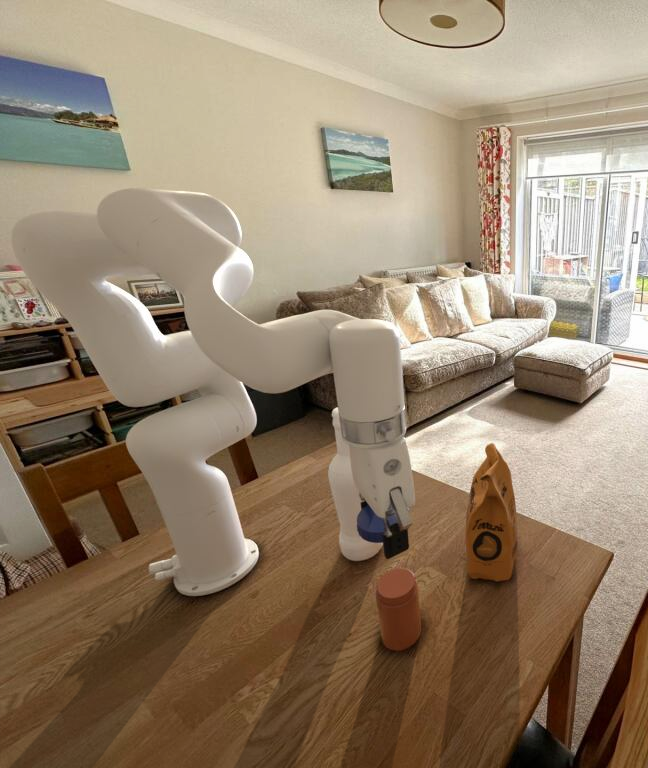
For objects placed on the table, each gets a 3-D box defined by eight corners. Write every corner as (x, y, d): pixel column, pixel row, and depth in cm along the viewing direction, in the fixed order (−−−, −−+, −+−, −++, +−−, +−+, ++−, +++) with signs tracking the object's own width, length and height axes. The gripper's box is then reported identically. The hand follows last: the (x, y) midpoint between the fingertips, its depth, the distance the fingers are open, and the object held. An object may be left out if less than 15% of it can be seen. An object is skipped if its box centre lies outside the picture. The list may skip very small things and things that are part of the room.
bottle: (371, 566, 74) (350, 422, 63) (332, 559, 76) (305, 416, 65) (392, 536, 82) (376, 401, 71) (355, 529, 83) (335, 397, 72)
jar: (386, 658, 59) (379, 606, 55) (377, 624, 64) (370, 575, 60) (426, 639, 62) (422, 589, 58) (415, 608, 67) (410, 560, 63)
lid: (391, 501, 60) (390, 492, 59) (420, 524, 55) (419, 514, 55) (347, 525, 55) (346, 515, 54) (375, 551, 51) (374, 541, 50)
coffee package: (458, 582, 72) (455, 478, 64) (470, 532, 83) (469, 439, 75) (514, 586, 71) (518, 482, 63) (518, 536, 83) (522, 442, 74)
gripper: (436, 442, 45) (440, 563, 52) (376, 392, 58) (385, 494, 64) (370, 464, 41) (384, 593, 47) (320, 404, 53) (337, 513, 60)
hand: (385, 535), depth 56 cm, fingers closed on lid, 6 cm apart
